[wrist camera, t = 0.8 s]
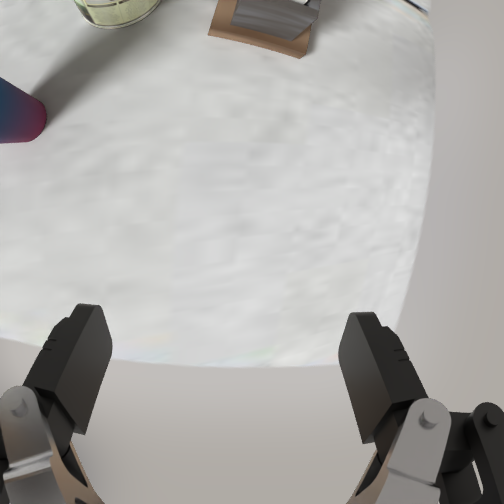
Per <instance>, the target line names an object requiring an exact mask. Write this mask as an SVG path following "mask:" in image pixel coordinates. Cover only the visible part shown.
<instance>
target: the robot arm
mask: <svg viewBox="0 0 504 504" xmlns="http://www.w3.org/2000/svg"><path fill="white" fill-rule="evenodd" d="M42 348H43V349H42V350H41V351H40V353H39V355H38V356H37V358H36V360H35V362H34V364H33V366H32V368H31V370H30V372H29V374H28V375H27V377H26V379H25V381H24V383H23V385H22V386H15V387H12V388H10V389H8V390H7V391H6V392H5V393H4V394H3V395H2V397H1V398H0V504H9V503H11V504H105V503H104V502H103V501H102V499H101V498H100V497H99V496H98V495H97V493H96V492H95V490H94V489H93V487H92V485H91V483H90V481H89V479H88V477H87V475H86V473H85V470H84V468H83V466H82V464H81V462H80V459H79V457H78V455H77V453H76V450H75V448H74V445H73V443H72V441H71V437H72V434H73V432H74V433H78V434H83V435H85V433H86V430H87V427H88V423H89V420H90V417H91V414H92V410H93V407H94V404H95V401H96V398H97V395H98V392H99V389H100V386H101V383H102V381H103V378H104V375H105V372H106V369H107V366H108V364H109V361H110V358H111V355H112V339H111V335H110V332H109V329H108V326H107V323H106V320H105V316H104V313H103V310H102V308H101V306H100V305H91V304H81V303H80V304H78V305H77V306H76V307H75V309H74V310H73V312H72V314H71V315H70V317H69V318H68V317H65V318H64V319H62V320H61V321H60V322H59V323H58V324H57V325H56V326H54V328H53V330H52V331H51V333H50V335H49V337H48V341H47V340H46V342H45V344H44V345H43V347H42ZM338 357H339V363H340V367H341V370H342V373H343V377H344V379H345V383H346V386H347V390H348V393H349V397H350V400H351V403H352V407H353V411H354V414H355V418H356V421H357V425H358V428H359V432H360V435H361V439H362V443H363V444H366V443H372V442H375V445H376V448H377V449H376V451H375V452H374V454H373V456H372V458H371V460H370V462H369V464H368V466H367V468H366V470H365V472H364V474H363V476H362V478H361V480H360V481H359V483H358V485H357V487H356V489H355V491H354V492H353V494H352V496H351V497H350V499H349V500H348V502H347V503H346V504H438V501H439V503H440V504H504V412H503V411H502V410H501V409H500V408H499V407H498V406H497V405H495V404H493V403H489V402H485V403H481V404H480V405H478V406H477V407H476V408H475V410H474V411H473V412H472V413H460V412H449V411H448V410H447V408H446V407H445V406H444V405H443V404H442V403H440V402H439V401H437V400H435V399H431V398H428V396H427V394H426V392H425V389H424V387H423V385H422V383H421V381H420V379H419V377H418V375H417V373H416V371H415V368H414V366H413V365H412V363H411V361H409V356H408V355H407V352H406V351H404V347H403V345H402V343H401V341H400V339H399V337H398V336H397V335H396V334H395V333H394V332H393V331H392V330H391V329H390V328H389V327H388V326H385V327H382V326H381V324H380V322H379V320H378V318H377V316H376V314H375V313H374V312H353V313H350V315H349V317H348V320H347V323H346V326H345V330H344V333H343V336H342V339H341V342H340V345H339V352H338ZM474 460H475V463H476V465H477V469H478V472H479V475H480V478H481V481H482V484H483V494H481V490H480V487H479V484H478V480H477V477H476V474H475V471H474V468H473V465H472V462H473V461H474Z"/></svg>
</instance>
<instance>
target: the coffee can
mask: <svg viewBox="0 0 504 504" xmlns="http://www.w3.org/2000/svg"><path fill="white" fill-rule="evenodd" d="M160 1H161V0H74V2H75V3H76V5H77V6H78V8H79V10H80V11H81V13H82V16H83V18H84V19H85V20H86V21H87V22H88V23H89V24H91V25H93V26H95V27H98V28H104V29H115V28H121V27H125V26H129V25H131V24H134V23H136V22H138V21H140V20H142V19H143V18H145V17H146V16H147V15H149V14H150V13H151V12H152V11H153V10H154V9H155V8H156V7H157V6H158V4H159V2H160Z"/></svg>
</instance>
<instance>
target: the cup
mask: <svg viewBox="0 0 504 504" xmlns="http://www.w3.org/2000/svg"><path fill="white" fill-rule="evenodd" d="M46 116H47V114H46V109H45V107H44V105H43V104H42V103H41V102H40V101H38V100H37V99H35V98H33V97H32V96H30V95H29V94H27V93H25V92H24V91H22V90H20V89H19V88H17V87H16V86H14V85H12V84H11V83H9V82H7V81H6V80H4V79H3V78H1V77H0V144H2V143H19V142H29V141H32V140H34V139H35V138H37V137H38V136H39V135H40V133H41V132H42V130H43V128H44V126H45V123H46Z"/></svg>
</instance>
